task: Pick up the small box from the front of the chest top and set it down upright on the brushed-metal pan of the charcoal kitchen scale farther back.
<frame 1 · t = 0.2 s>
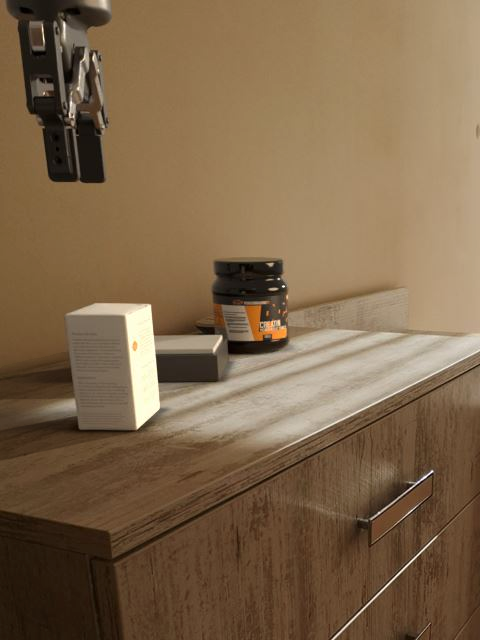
hand: (79, 182, 66), 21 cm above the table, tool pointing down, fingers open, 8 cm apart
supplement container: (253, 349, 116), on the table
scale: (161, 371, 100), on the table
small box: (121, 421, 78), on the table
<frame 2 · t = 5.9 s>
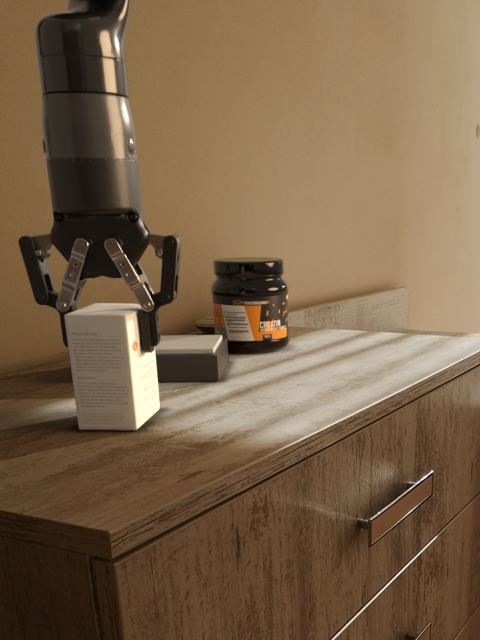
hand: (113, 351, 76), 7 cm above the table, tool pointing down, fingers closed on small box, 6 cm apart
small box: (121, 421, 78), on the table, touching gripper
everything else where it was.
when the fingers open (10 cm above the table, at t = 13.3 s): small box stays where it is, resting on scale.
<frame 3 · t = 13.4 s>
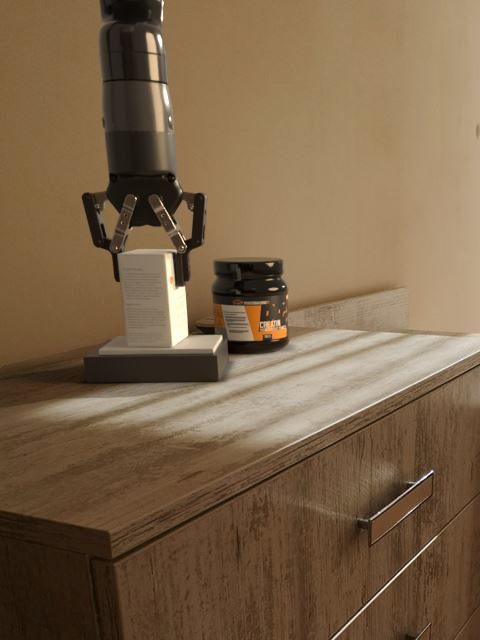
hand: (153, 285, 96), 10 cm above the table, tool pointing down, fingers open, 6 cm apart
small box: (158, 343, 99), point 3 cm above the table, touching scale
everything else where it was.
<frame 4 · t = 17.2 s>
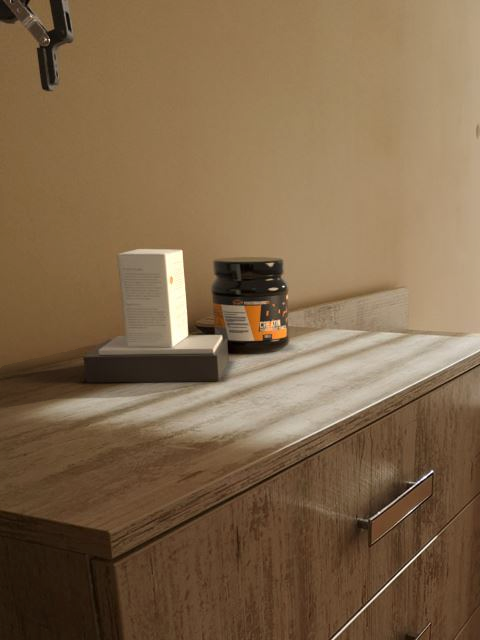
hand: (5, 90, 83), 30 cm above the table, tool pointing down, fingers open, 8 cm apart
nothing on the table moved.
at the end: small box inside the target area on the scale (0.3 cm from its centre), point 3.4 cm above the scale's base; small box tilted 0°; the gripper is holding nothing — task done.
